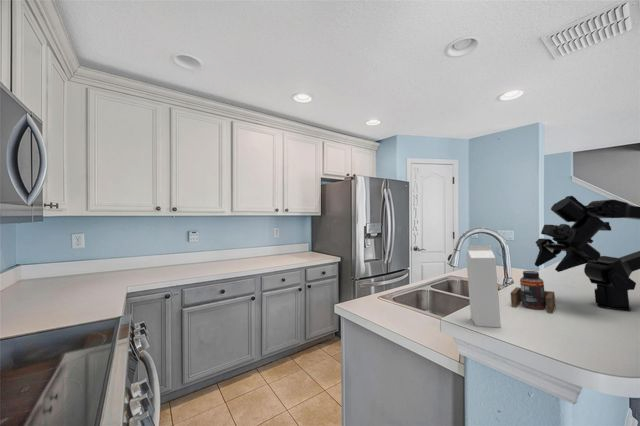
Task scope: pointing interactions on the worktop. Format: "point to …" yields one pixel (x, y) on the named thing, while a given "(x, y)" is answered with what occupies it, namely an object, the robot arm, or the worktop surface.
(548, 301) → the u-shaped wooden frame
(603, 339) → the worktop surface
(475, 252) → the milk
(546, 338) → the worktop surface
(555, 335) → the worktop surface
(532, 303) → the supplement bottle
